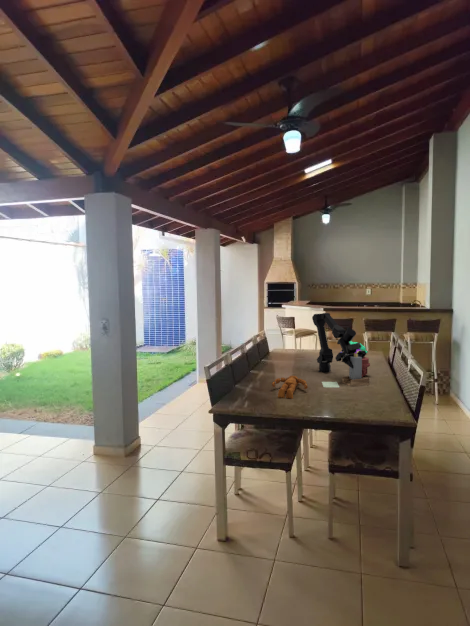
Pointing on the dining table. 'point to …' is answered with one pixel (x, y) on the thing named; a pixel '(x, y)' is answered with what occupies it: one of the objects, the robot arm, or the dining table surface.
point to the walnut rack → (355, 381)
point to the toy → (289, 386)
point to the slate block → (355, 367)
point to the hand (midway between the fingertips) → (356, 367)
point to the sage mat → (330, 384)
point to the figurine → (359, 348)
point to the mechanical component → (365, 366)
